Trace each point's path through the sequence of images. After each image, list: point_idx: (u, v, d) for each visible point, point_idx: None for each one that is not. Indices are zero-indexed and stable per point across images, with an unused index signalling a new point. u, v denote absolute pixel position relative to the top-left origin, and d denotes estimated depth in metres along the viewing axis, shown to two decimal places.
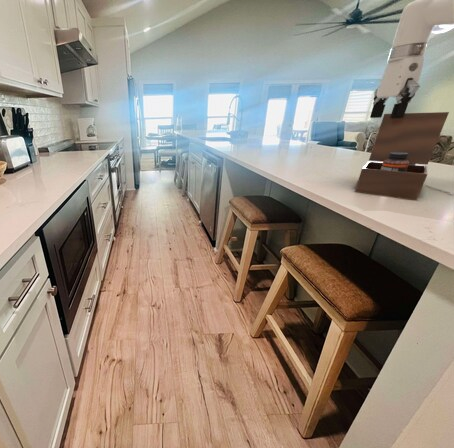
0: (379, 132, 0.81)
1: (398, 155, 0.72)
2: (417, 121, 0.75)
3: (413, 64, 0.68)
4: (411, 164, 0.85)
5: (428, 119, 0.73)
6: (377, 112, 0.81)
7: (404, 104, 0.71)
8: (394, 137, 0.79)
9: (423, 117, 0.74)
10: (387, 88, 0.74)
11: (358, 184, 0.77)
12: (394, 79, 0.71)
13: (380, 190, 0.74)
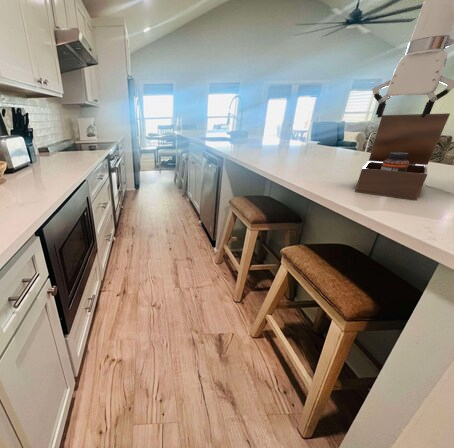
0: (377, 134, 0.79)
1: (398, 155, 0.72)
2: (416, 123, 0.71)
3: None
4: (411, 164, 0.85)
5: (428, 121, 0.70)
6: (382, 111, 0.74)
7: (434, 102, 0.67)
8: (393, 139, 0.77)
9: (423, 119, 0.70)
10: (413, 84, 0.67)
11: (358, 184, 0.77)
12: (427, 74, 0.65)
13: (380, 190, 0.74)
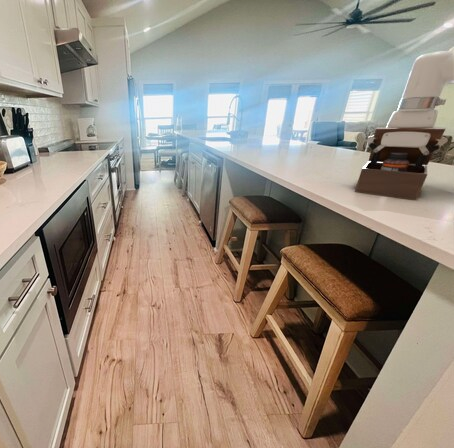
0: None
1: (398, 155, 0.72)
2: None
3: None
4: (411, 164, 0.85)
5: None
6: (377, 159, 0.77)
7: None
8: None
9: None
10: (406, 138, 0.70)
11: (358, 184, 0.77)
12: None
13: (380, 190, 0.74)
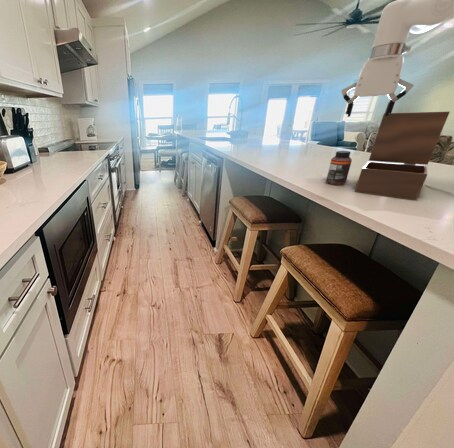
0: (378, 132, 0.80)
1: (342, 153, 0.82)
2: (417, 121, 0.73)
3: None
4: (411, 164, 0.85)
5: (428, 119, 0.72)
6: (351, 111, 0.81)
7: None
8: (394, 137, 0.78)
9: (423, 117, 0.72)
10: (377, 86, 0.74)
11: (358, 184, 0.77)
12: (389, 77, 0.72)
13: (380, 190, 0.74)
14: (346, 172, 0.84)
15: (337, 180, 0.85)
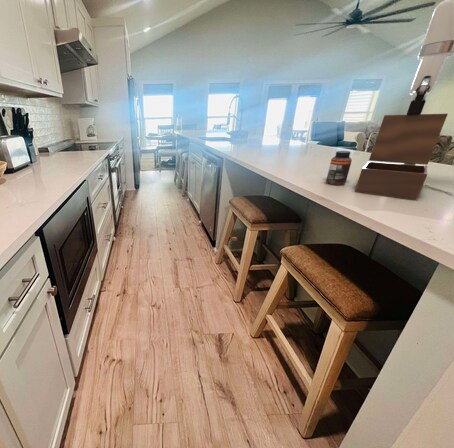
0: (379, 133, 0.82)
1: (342, 153, 0.82)
2: (417, 122, 0.76)
3: None
4: (411, 164, 0.85)
5: (428, 120, 0.74)
6: None
7: None
8: (394, 137, 0.79)
9: (422, 118, 0.75)
10: None
11: (358, 184, 0.77)
12: None
13: (380, 190, 0.74)
14: (346, 172, 0.84)
15: (337, 180, 0.85)
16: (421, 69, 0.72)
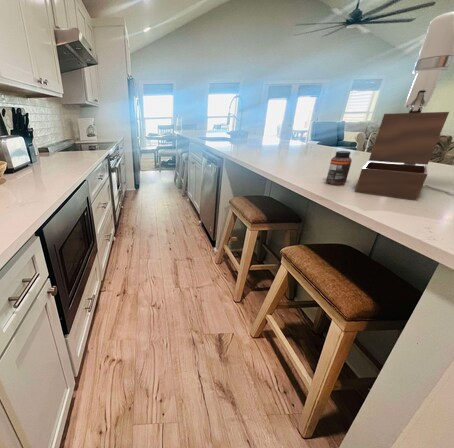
0: (379, 132, 0.81)
1: (342, 153, 0.82)
2: (417, 121, 0.74)
3: None
4: (411, 164, 0.85)
5: (428, 119, 0.73)
6: None
7: None
8: (394, 137, 0.78)
9: (423, 117, 0.73)
10: None
11: (358, 184, 0.77)
12: None
13: (380, 190, 0.74)
14: (346, 172, 0.84)
15: (337, 180, 0.85)
16: (416, 83, 0.72)
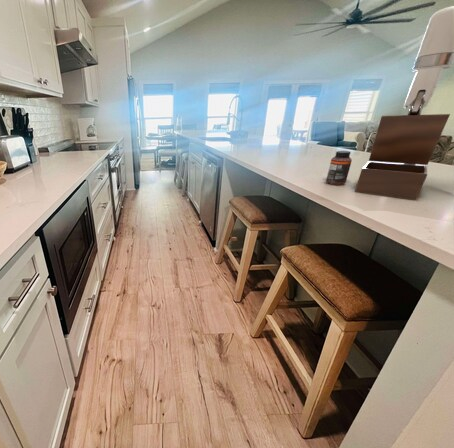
0: (377, 134, 0.78)
1: (342, 153, 0.82)
2: (416, 124, 0.71)
3: None
4: (411, 164, 0.85)
5: (428, 122, 0.69)
6: None
7: None
8: (393, 139, 0.77)
9: (422, 120, 0.70)
10: None
11: (358, 184, 0.77)
12: None
13: (380, 190, 0.74)
14: (346, 172, 0.84)
15: (337, 180, 0.85)
16: (415, 82, 0.68)
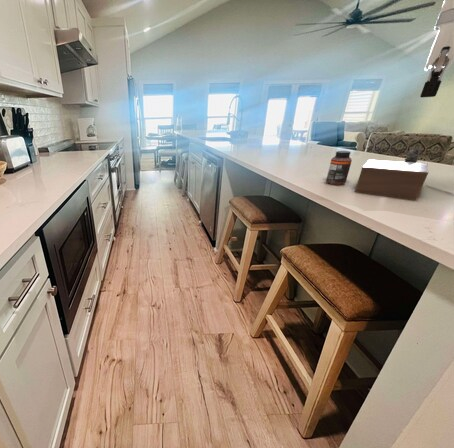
0: None
1: (342, 153, 0.82)
2: None
3: None
4: None
5: None
6: None
7: None
8: None
9: None
10: None
11: (358, 184, 0.77)
12: None
13: (380, 190, 0.74)
14: (346, 172, 0.84)
15: (337, 180, 0.85)
16: (439, 39, 0.64)
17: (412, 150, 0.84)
